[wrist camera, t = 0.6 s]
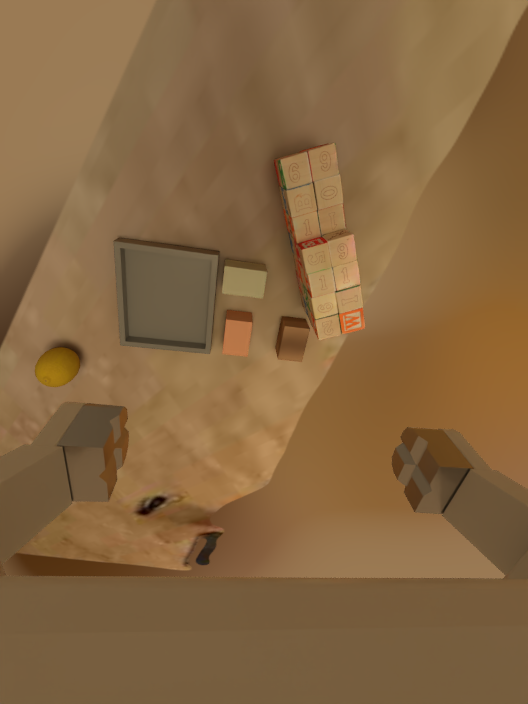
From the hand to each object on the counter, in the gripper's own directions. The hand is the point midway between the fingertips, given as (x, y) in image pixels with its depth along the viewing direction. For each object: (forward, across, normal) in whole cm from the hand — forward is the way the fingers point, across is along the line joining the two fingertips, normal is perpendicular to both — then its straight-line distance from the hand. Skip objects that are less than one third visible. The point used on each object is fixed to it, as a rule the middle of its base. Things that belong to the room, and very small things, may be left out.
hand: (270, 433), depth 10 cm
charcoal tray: (+43, +10, +12) cm, 45 cm away
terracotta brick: (+43, -1, +16) cm, 46 cm away
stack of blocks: (+43, -10, 0) cm, 44 cm away
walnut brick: (+43, -10, +16) cm, 47 cm away
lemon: (+43, +26, +24) cm, 56 cm away
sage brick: (+43, -1, +7) cm, 43 cm away
